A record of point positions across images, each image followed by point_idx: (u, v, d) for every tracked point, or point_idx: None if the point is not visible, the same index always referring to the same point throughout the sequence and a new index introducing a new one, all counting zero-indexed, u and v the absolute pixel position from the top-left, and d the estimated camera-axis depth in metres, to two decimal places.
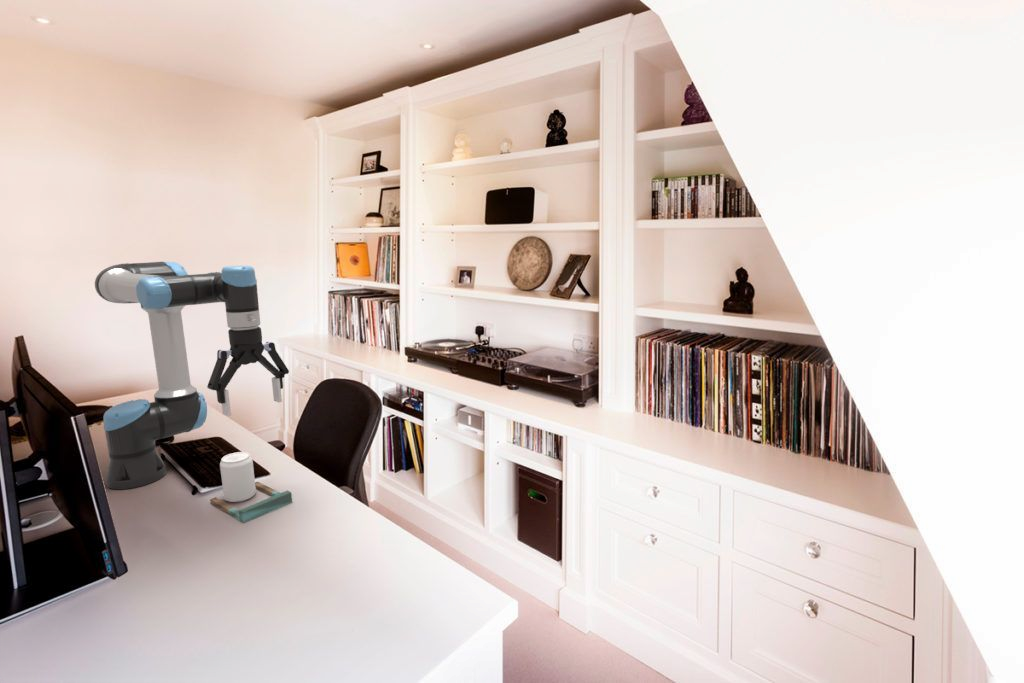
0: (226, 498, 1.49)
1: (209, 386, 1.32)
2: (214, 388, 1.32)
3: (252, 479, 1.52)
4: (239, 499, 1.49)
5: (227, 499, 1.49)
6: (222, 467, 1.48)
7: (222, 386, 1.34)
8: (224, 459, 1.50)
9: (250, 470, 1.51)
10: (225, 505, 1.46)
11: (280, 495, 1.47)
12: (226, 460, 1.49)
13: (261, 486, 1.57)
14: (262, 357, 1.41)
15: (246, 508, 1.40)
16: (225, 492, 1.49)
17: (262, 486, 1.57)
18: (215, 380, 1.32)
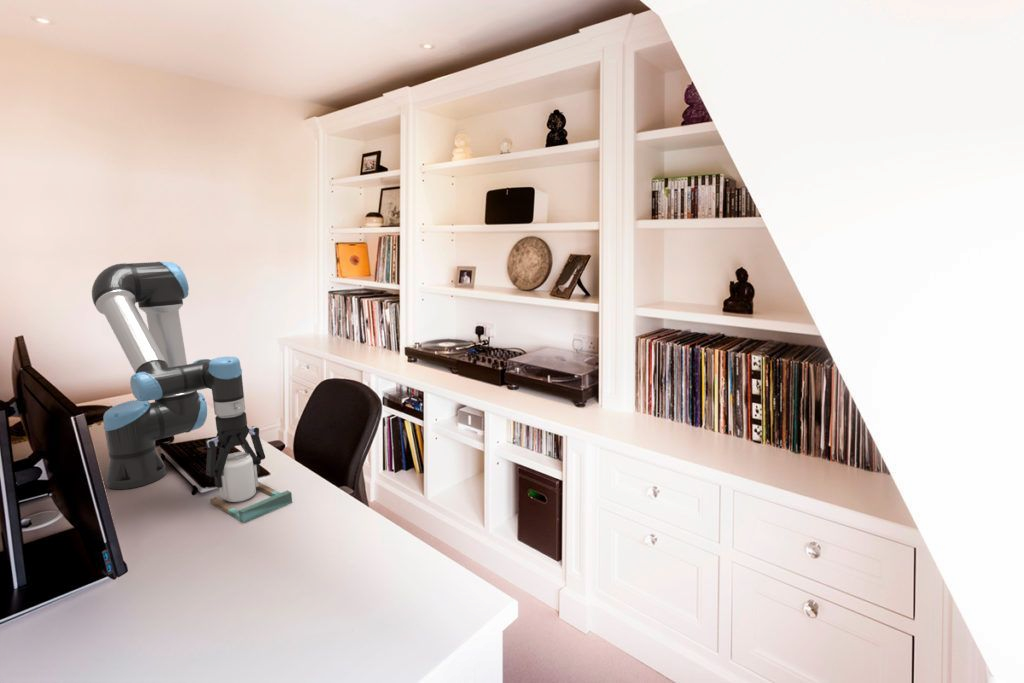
0: (226, 498, 1.49)
1: (207, 474, 1.45)
2: (212, 475, 1.45)
3: (252, 479, 1.52)
4: (239, 499, 1.49)
5: (227, 499, 1.49)
6: None
7: (219, 473, 1.46)
8: None
9: (250, 470, 1.51)
10: (225, 505, 1.46)
11: (280, 495, 1.47)
12: (226, 460, 1.49)
13: (261, 486, 1.57)
14: (245, 441, 1.51)
15: (246, 508, 1.40)
16: None
17: (262, 486, 1.57)
18: (211, 468, 1.45)
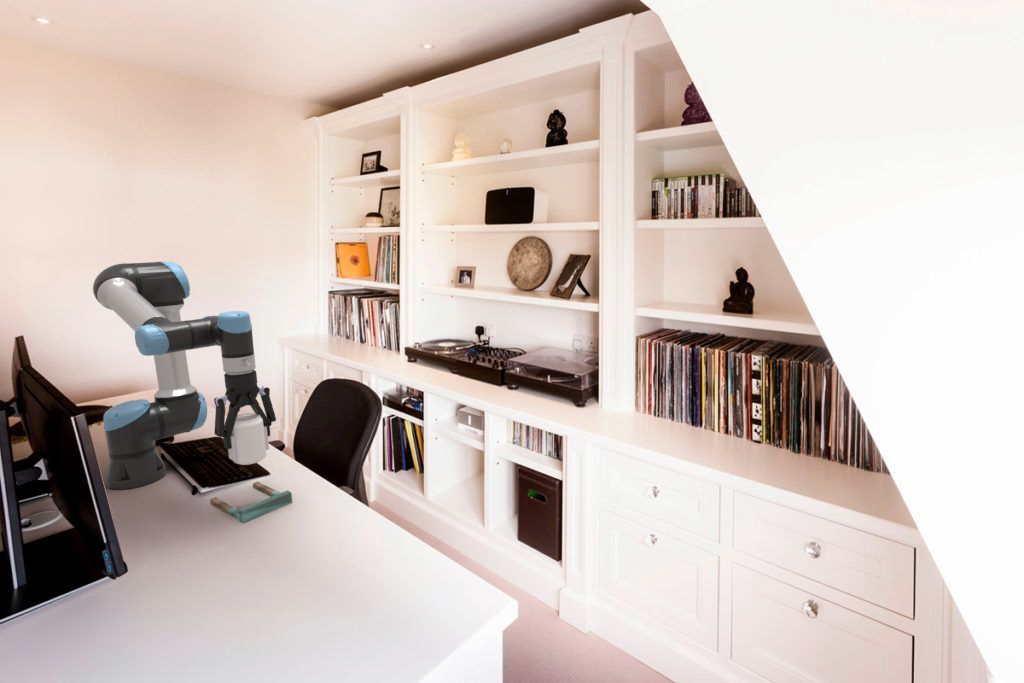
0: None
1: (216, 434, 1.38)
2: (221, 435, 1.38)
3: (263, 441, 1.45)
4: (249, 461, 1.42)
5: (237, 461, 1.42)
6: None
7: (228, 433, 1.39)
8: None
9: (261, 431, 1.44)
10: (225, 505, 1.46)
11: (280, 495, 1.47)
12: None
13: (261, 486, 1.57)
14: (255, 401, 1.44)
15: (246, 508, 1.40)
16: None
17: (262, 486, 1.57)
18: (220, 428, 1.37)
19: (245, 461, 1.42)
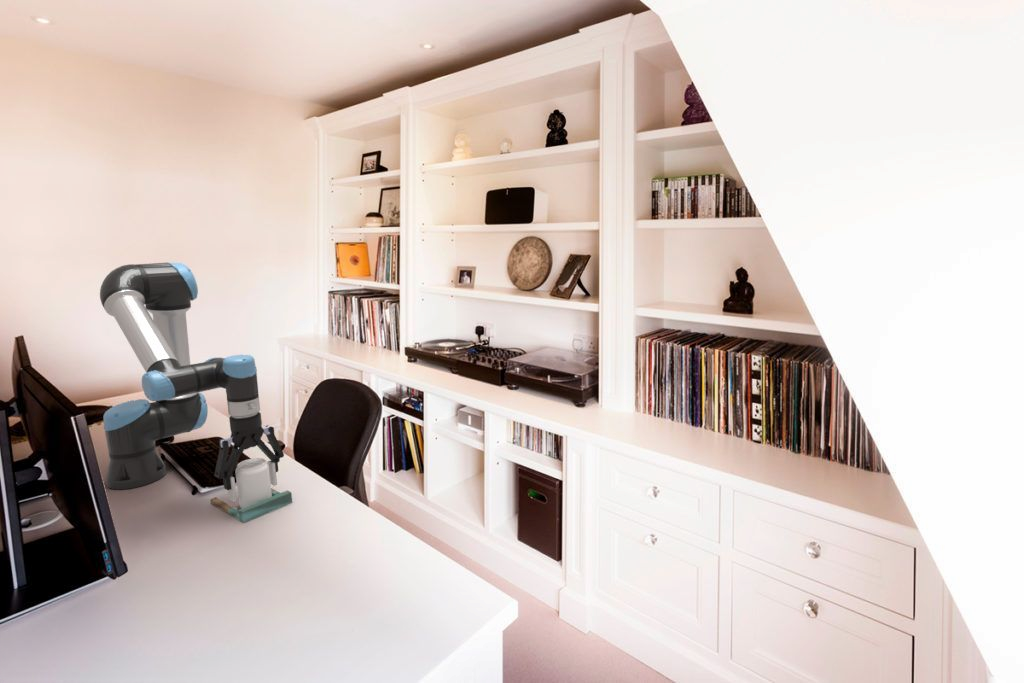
0: (242, 506, 1.45)
1: (216, 475, 1.39)
2: (221, 477, 1.39)
3: (268, 486, 1.47)
4: None
5: (243, 507, 1.45)
6: (238, 474, 1.43)
7: (228, 474, 1.40)
8: (240, 466, 1.45)
9: (266, 477, 1.46)
10: (225, 505, 1.46)
11: (280, 495, 1.47)
12: (242, 467, 1.45)
13: None
14: (261, 442, 1.46)
15: (246, 508, 1.40)
16: (241, 500, 1.45)
17: None
18: (221, 469, 1.39)
19: None
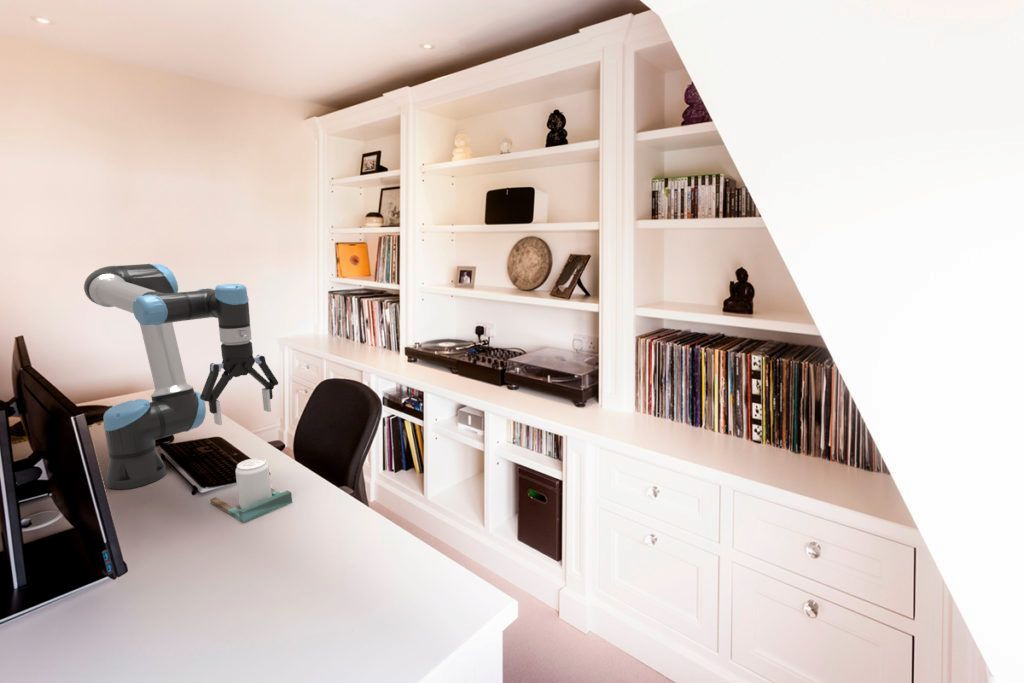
0: (242, 506, 1.45)
1: (202, 397, 1.41)
2: (206, 399, 1.41)
3: (268, 486, 1.47)
4: None
5: (243, 507, 1.45)
6: (238, 474, 1.43)
7: (214, 397, 1.42)
8: (240, 466, 1.45)
9: (266, 477, 1.46)
10: (225, 505, 1.46)
11: (280, 495, 1.47)
12: (242, 467, 1.45)
13: None
14: (252, 370, 1.49)
15: (246, 508, 1.40)
16: (241, 500, 1.45)
17: None
18: (207, 392, 1.41)
19: None
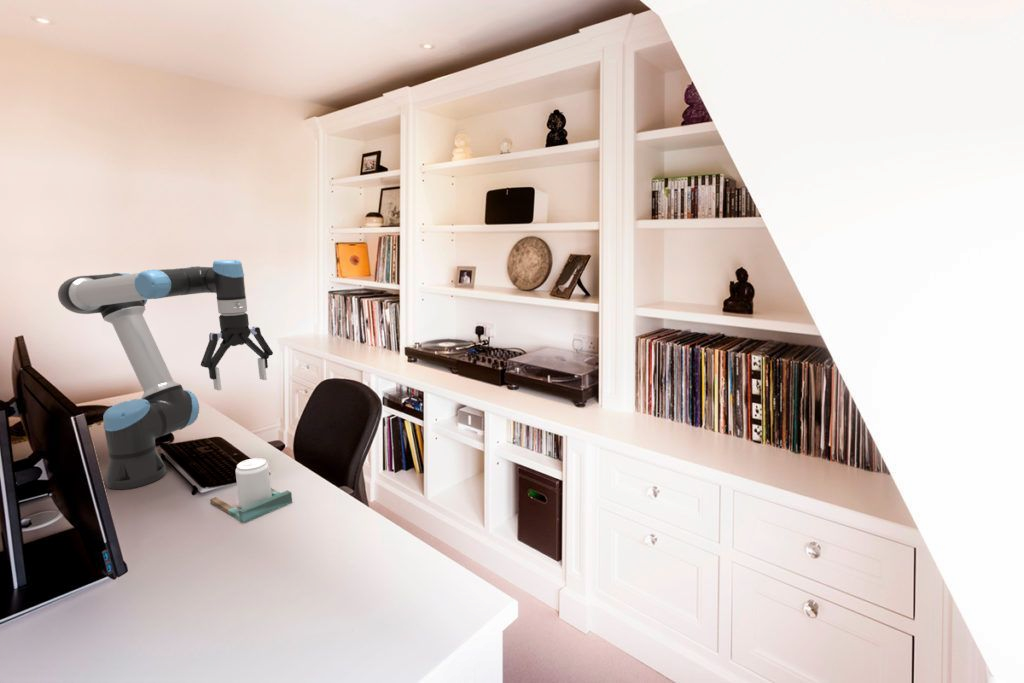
0: (242, 506, 1.45)
1: (202, 364, 1.53)
2: (206, 365, 1.52)
3: (268, 486, 1.47)
4: None
5: (243, 507, 1.45)
6: (238, 474, 1.43)
7: (213, 364, 1.54)
8: (240, 466, 1.45)
9: (266, 477, 1.46)
10: (225, 505, 1.46)
11: (280, 495, 1.47)
12: (242, 467, 1.45)
13: None
14: (249, 340, 1.61)
15: (246, 508, 1.40)
16: (241, 500, 1.45)
17: None
18: (207, 359, 1.52)
19: None
